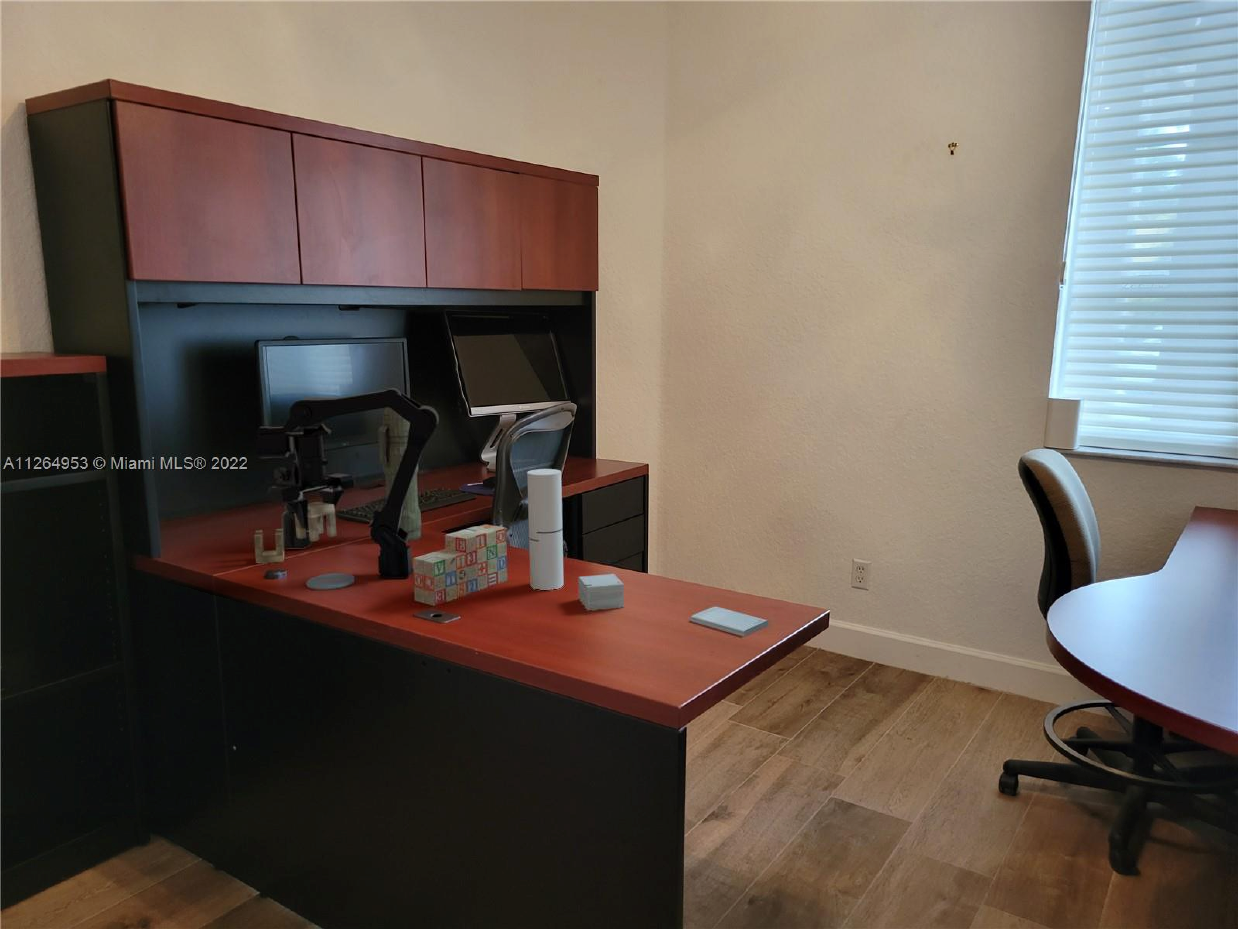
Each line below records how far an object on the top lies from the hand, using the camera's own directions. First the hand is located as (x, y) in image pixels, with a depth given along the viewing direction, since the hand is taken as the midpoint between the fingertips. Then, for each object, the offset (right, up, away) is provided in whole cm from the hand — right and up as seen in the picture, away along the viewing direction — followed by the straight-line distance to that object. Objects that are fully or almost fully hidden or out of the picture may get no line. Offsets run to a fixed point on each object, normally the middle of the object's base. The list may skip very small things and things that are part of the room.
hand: (315, 525), depth 196 cm
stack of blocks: (+34, -14, -7) cm, 37 cm away
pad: (+4, -13, -1) cm, 13 cm away
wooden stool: (0, -2, 0) cm, 2 cm away
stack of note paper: (+63, -15, -16) cm, 67 cm away
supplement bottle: (-14, -8, +29) cm, 33 cm away
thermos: (+10, -6, +38) cm, 40 cm away
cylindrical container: (+52, -13, -4) cm, 53 cm away
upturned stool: (-17, -10, +17) cm, 26 cm away
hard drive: (+88, -17, -28) cm, 94 cm away
